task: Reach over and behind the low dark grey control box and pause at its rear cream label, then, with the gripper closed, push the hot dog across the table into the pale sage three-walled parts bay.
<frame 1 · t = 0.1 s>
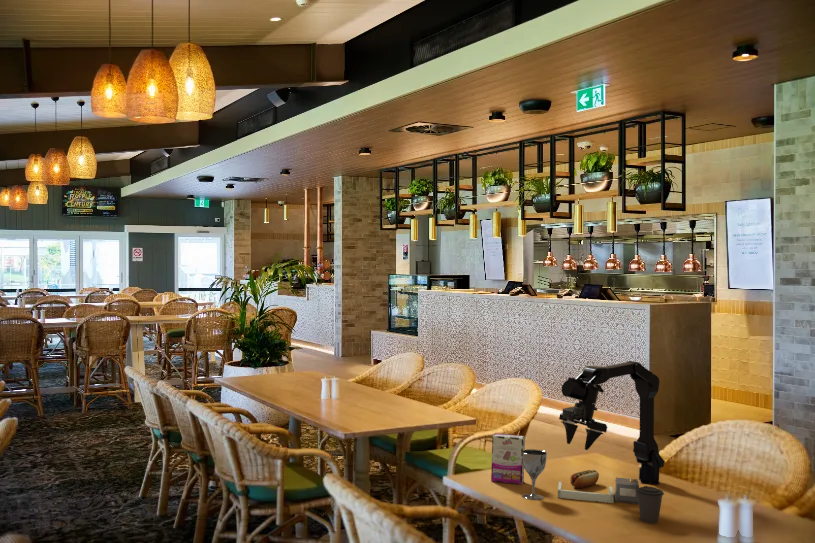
hand: (577, 446, 267), 15 cm above the table, tool pointing down, fingers open, 9 cm apart
coffee cup: (649, 521, 238), on the table
parts bay: (585, 495, 263), on the table
hot dog: (585, 486, 275), on the table
candy bar box: (507, 482, 277), on the table
wine glass: (532, 497, 259), on the table
control box: (626, 499, 260), on the table
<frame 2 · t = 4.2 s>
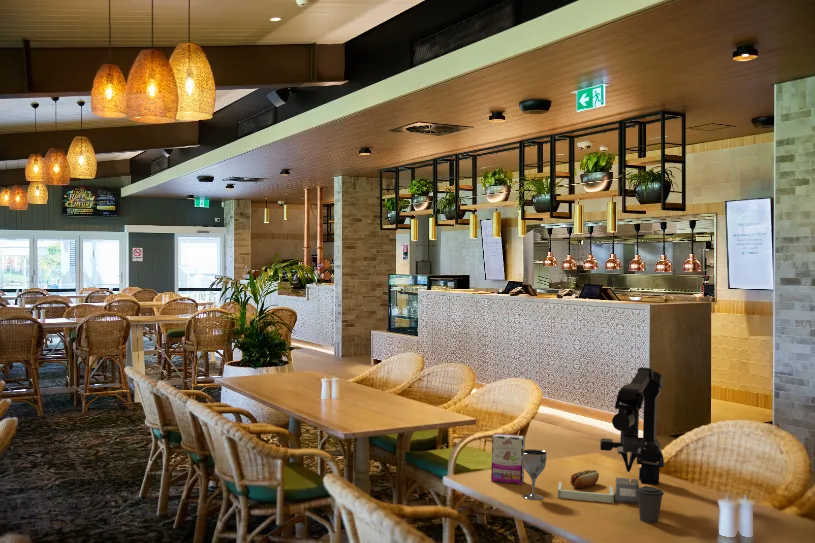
hand: (628, 471, 260), 9 cm above the table, tool pointing down, fingers closed
nothing on the table moved.
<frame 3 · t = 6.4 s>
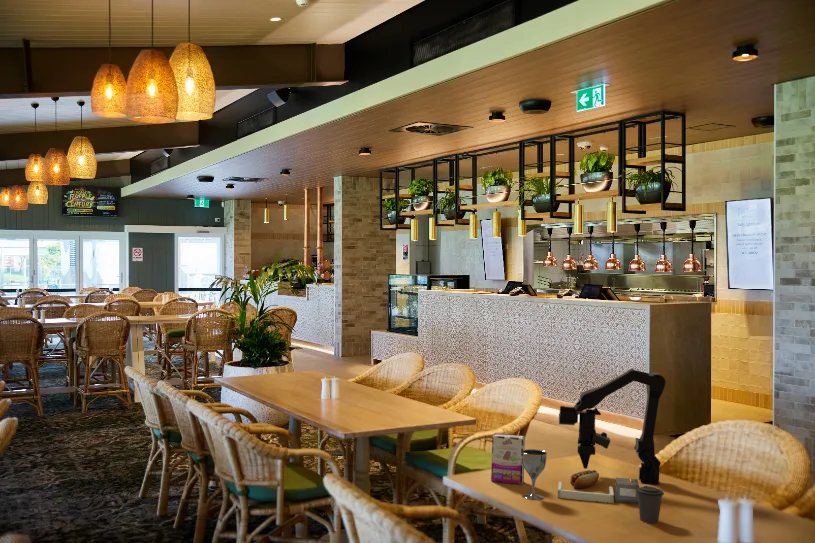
hand: (585, 468, 286), 3 cm above the table, tool pointing down, fingers closed
nothing on the table moved.
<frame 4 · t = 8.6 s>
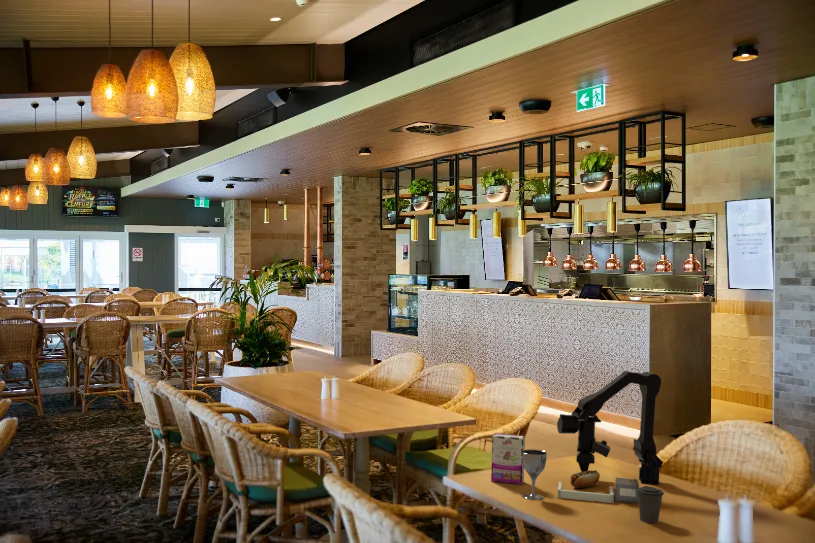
hand: (584, 477, 281), 2 cm above the table, tool pointing down, fingers closed
hot dog: (585, 487, 274), on the table, touching gripper
everything else where it was.
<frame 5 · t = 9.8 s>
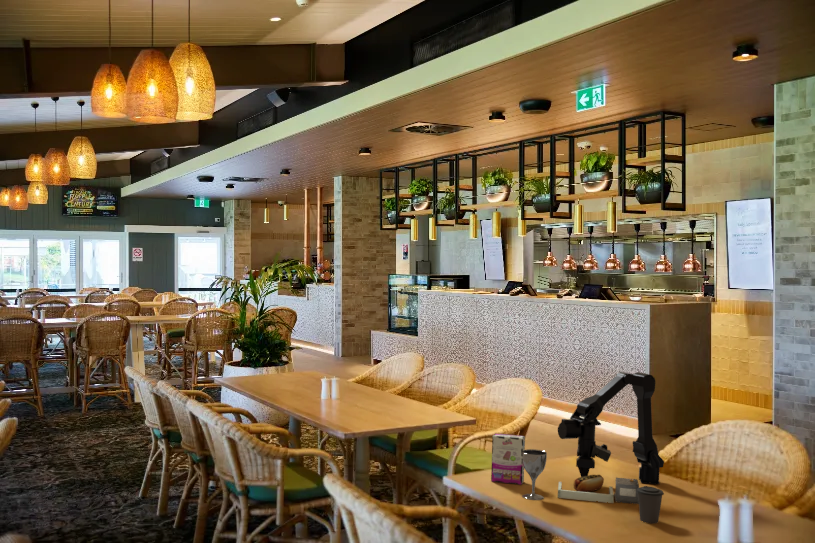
hand: (584, 482, 274), 2 cm above the table, tool pointing down, fingers closed
hot dog: (589, 491, 268), on the table, touching gripper
everything else where it was.
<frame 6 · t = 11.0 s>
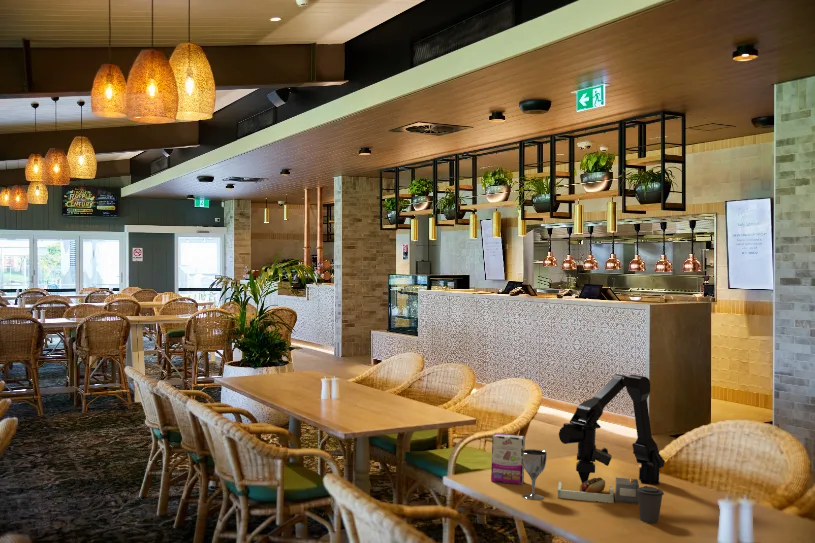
hand: (584, 486, 268), 2 cm above the table, tool pointing down, fingers closed
hot dog: (592, 495, 264), on the table, touching gripper, parts bay
everything else where it was.
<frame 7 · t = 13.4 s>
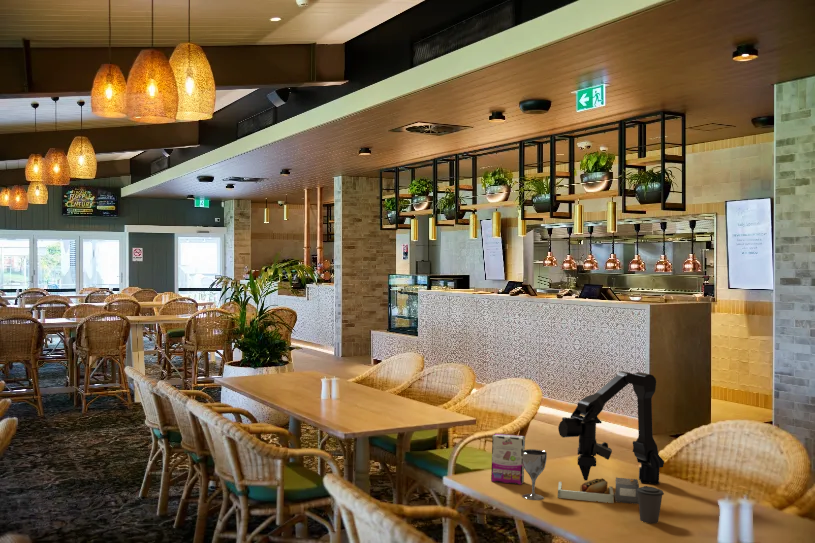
hand: (585, 480, 273), 2 cm above the table, tool pointing down, fingers closed
hot dog: (594, 496, 263), on the table
everything else where it was.
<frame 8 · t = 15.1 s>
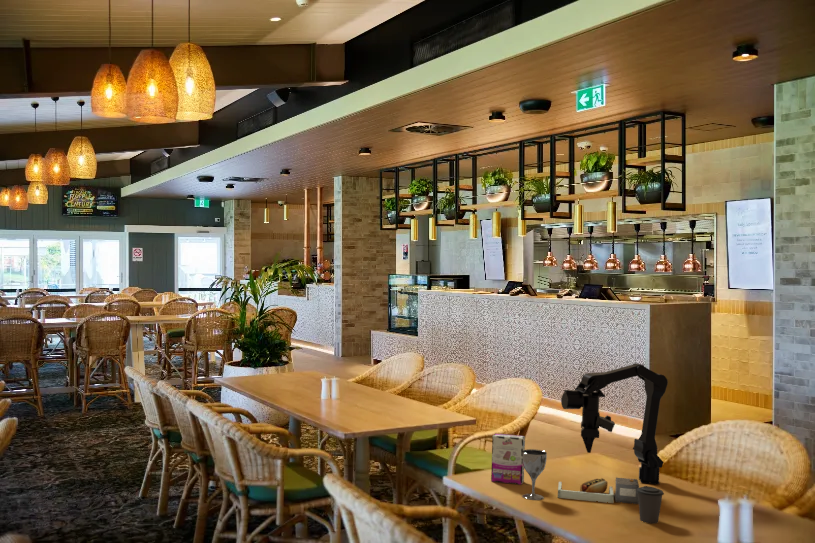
hand: (588, 452, 278), 11 cm above the table, tool pointing down, fingers closed
nothing on the table moved.
at the end: hot dog inside the target area on the parts bay (3.5 cm from its centre), point 0.0 cm above the parts bay's base; hot dog moved 11.4 cm from its start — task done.
